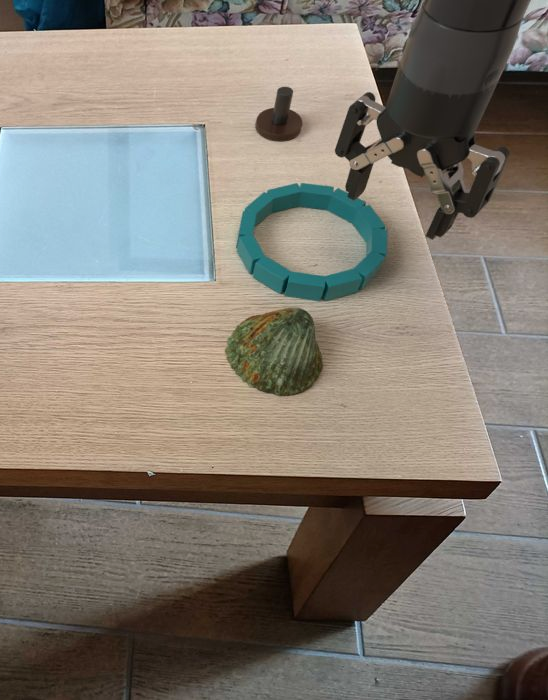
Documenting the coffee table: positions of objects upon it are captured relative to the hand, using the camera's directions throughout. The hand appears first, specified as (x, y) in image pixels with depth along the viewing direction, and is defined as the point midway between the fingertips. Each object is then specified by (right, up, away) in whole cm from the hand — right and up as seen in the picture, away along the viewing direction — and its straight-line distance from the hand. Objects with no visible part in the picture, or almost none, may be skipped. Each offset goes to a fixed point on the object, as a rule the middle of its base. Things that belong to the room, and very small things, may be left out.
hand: (393, 213), depth 67 cm
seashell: (-11, -14, +3) cm, 18 cm away
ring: (-5, -2, +11) cm, 12 cm away
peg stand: (-5, +17, +24) cm, 29 cm away
